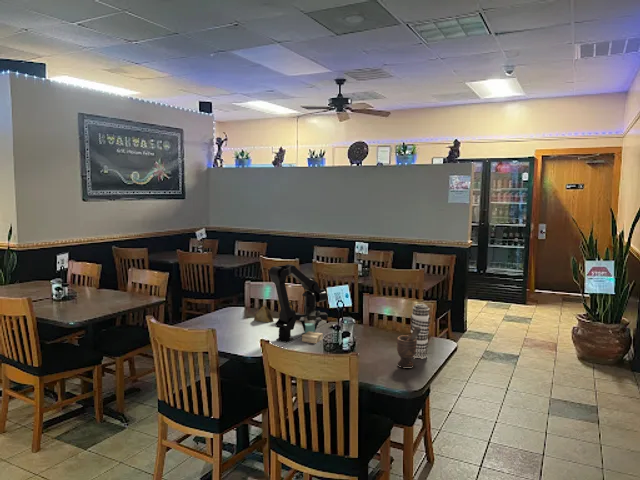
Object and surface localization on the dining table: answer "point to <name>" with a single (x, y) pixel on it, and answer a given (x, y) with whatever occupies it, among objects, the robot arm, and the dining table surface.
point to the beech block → (312, 337)
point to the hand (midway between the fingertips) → (309, 331)
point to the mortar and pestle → (407, 348)
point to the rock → (263, 315)
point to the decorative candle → (421, 321)
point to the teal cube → (309, 327)
